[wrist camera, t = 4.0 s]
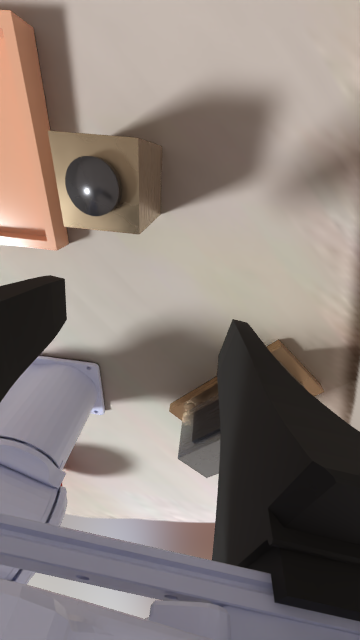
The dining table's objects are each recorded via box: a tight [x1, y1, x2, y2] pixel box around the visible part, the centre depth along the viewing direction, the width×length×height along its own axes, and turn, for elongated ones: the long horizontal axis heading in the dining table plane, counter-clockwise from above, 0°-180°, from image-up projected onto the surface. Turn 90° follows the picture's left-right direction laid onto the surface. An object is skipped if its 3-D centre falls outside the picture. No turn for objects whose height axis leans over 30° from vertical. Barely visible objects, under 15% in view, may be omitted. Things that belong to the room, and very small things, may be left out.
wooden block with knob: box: [48, 131, 162, 234], centre depth 14 cm, size 4×4×7 cm
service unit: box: [169, 340, 324, 478], centre depth 24 cm, size 7×14×6 cm, turn 135°
